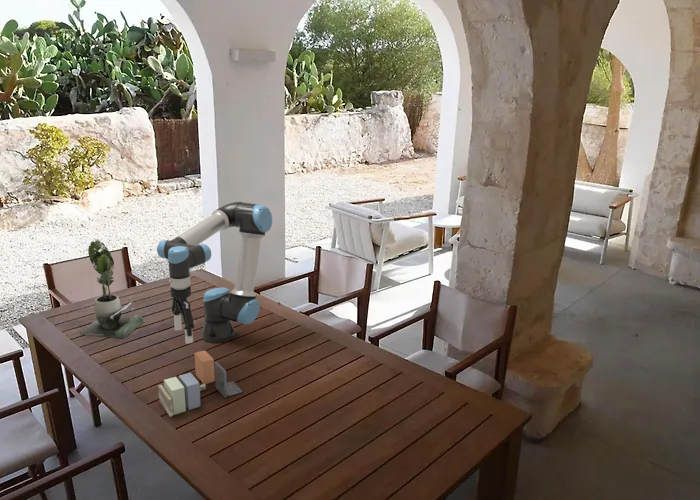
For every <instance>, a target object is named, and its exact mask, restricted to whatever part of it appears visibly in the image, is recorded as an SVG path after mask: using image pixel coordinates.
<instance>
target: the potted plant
mask: <svg viewBox="0 0 700 500" xmlns="http://www.w3.org/2000/svg"><path fill="white" fill-rule="evenodd" d="M87 248H88V249H87V251H88V252H87V253H88V256H89V260H90V262H91V264H92V265H93V269H94V270H95V271H96V272H97V274H99V275H100V276H99V277H96V282H97V283H98V284H100V285H101V289H102V295H99V296H97V297H95V299H94V306H93V307H94V315H95V318H96V320H94V321H93V322H92V323H90V324H89V325H87V326H86V327H84V328H83V329H81V330H80V331H79V334H80V335H81V334H84V336H92V335H93V337H94V336H95V337H102V336H104V337H103V338H115V339H124V338H126V337H127V336H128V335H130V334H131V332H134V331H135V329H137V328H138V327H139V326H141V325H142V323H144V316H141V315H138V314H136V315H134V316H133V317H132V318H129V317H121V316H122V312H123V311H125V312H126V310H127V309H128V308H129V307H130V306H131V305H132V303H133V302H132V301H131V302H129V303H128V304H127V305H125V306H124V307H122V305H121V301H120V300H121V299H120V298H119V296H118V295H116V294H112V293H111V288H110V285H112V284H113V283H114V282H115V280H114V277H113V275H114V270H113V269H115V268H114V265H115V262H114V259H113V256H112V253H111V251H110V250H109V249H108V246H107V245H106V244H104V242H101V240H100V239H98V238H97V239H95V240H94V241H93V240H92V241H91V242H90V244H89V245H88V247H87ZM107 290H108V294H107ZM134 309H135V307H132V308H131V311H132V312H133V310H134Z"/></svg>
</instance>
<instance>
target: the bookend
mask: <svg viewBox="0 0 700 500" xmlns="http://www.w3.org/2000/svg"><path fill="white" fill-rule="evenodd" d="M214 377H215V381H214V382H215V385H214V387H215V389H216V390H218V392H219V393H220V394H221V395H222V396H223V398H229V397H232V396H235V395H238V394H241V393H243V392H244V390H242V388H241V387H239V385H238V384H237V383H235V381H233V380H232V381H229V382H228V381H227V380H228V376H227V370H226V369H225V368H224V367H223V366H222V365H221V364H220V363H219V362H218V361H217V360H216V361H214Z"/></svg>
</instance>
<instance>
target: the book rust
mask: <svg viewBox="0 0 700 500" xmlns="http://www.w3.org/2000/svg"><path fill="white" fill-rule="evenodd" d="M214 362H215V359H214V358H213V357H212V356H211V355H210V354H209V353H208V352H207V351H206V349H204V350H201V351H197V352H194V367H195V369H194V370H195V376H196V377H197V378H198V379H199V380H200V382H201V383H202V385H203V384H205V385H207V384H211V383H214V382H215V366H214Z"/></svg>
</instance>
